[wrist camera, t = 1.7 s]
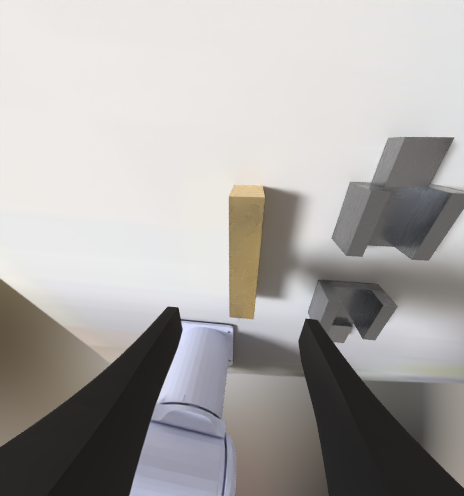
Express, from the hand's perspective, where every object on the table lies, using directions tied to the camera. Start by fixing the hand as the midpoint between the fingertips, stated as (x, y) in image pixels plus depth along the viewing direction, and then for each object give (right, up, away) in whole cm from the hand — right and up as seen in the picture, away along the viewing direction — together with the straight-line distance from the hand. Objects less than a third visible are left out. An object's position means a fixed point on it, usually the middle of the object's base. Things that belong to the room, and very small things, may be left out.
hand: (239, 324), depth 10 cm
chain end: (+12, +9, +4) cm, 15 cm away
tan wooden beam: (+1, +5, +8) cm, 9 cm away
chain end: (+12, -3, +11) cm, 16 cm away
